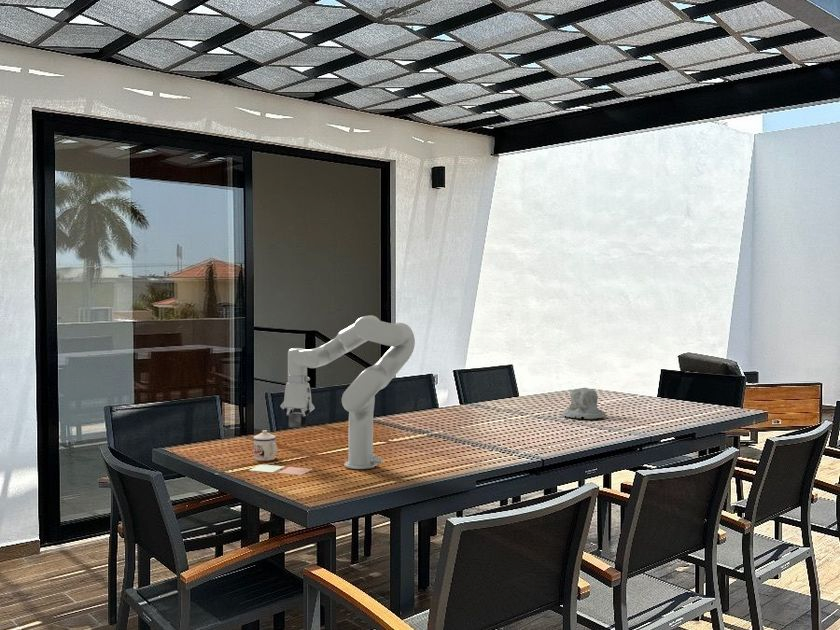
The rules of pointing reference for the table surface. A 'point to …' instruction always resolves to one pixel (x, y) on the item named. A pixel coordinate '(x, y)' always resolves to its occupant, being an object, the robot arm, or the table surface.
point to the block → (295, 420)
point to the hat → (583, 405)
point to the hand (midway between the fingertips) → (297, 424)
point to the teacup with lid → (264, 446)
